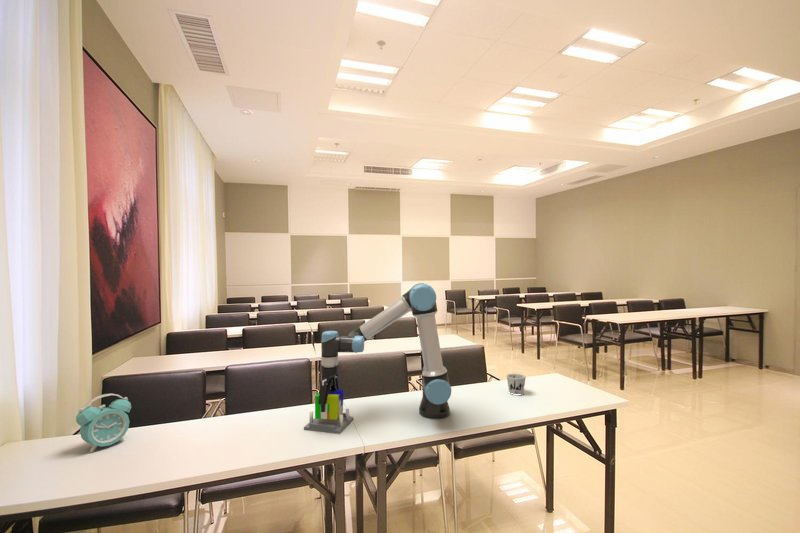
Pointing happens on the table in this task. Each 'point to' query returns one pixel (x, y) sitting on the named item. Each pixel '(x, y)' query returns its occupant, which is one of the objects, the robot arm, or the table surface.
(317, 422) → the tray
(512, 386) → the mug
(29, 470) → the table surface
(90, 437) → the alarm clock
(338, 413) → the puzzle toy
